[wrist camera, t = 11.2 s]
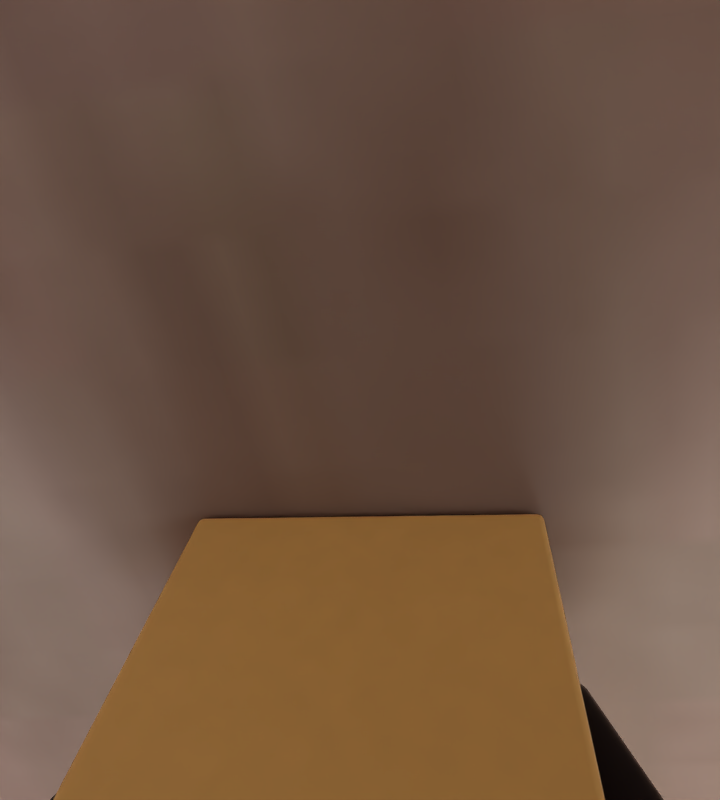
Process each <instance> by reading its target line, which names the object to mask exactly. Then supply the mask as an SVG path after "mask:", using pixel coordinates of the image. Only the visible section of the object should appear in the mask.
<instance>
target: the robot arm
mask: <svg viewBox="0 0 720 800" xmlns="http://www.w3.org/2000/svg"><path fill="white" fill-rule="evenodd" d="M580 687H581V691H582V696H583V701H584V705H585V710H586V714H587V719H588V724H589V728H590V733H591V737H592V742H593V747H594V751H595V756H596V760H597V765H598V770H599V774H600V779H601V783H602V788H603V793H604V797H605V800H663V798H662V797H661V795H660V794H659V793H658V791H657V790H656V788H655V787H654V785H653V784H652V782H651V781H650V780H649V778H648V777H647V775H646V774H645V772H644V771H643V769H642V768H641V767H640V765H639V764H638V762H637V761H636V759H635V758H634V756H633V755H632V754H631V752H630V751H629V749H628V748H627V746H626V745H625V743H624V742H623V741H622V739H621V738H620V736H619V735H618V733H617V732H616V730H615V729H614V728H613V726H612V725H611V723H610V722H609V720H608V719H607V717H606V716H605V715H604V713H603V712H602V710H601V709H600V707H599V706H598V704H597V703H596V702H595V700H594V699H593V697H592V696H591V694H590V693H589V692H588V690H587V689H586V688H585V687H584V686H583V685H581V684H580ZM55 795H56V794H55ZM55 795H54V796H53V797H52V798H51V799H50V800H53V799H54V797H55Z"/></svg>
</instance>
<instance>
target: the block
mask: <svg viewBox="0 0 720 800" xmlns="http://www.w3.org/2000/svg"><path fill="white" fill-rule="evenodd" d="M53 800H605V797H604V793H603V788H602V783H601V779H600V774H599V770H598V765H597V760H596V756H595V751H594V747H593V742H592V737H591V733H590V728H589V724H588V719H587V714H586V710H585V705H584V701H583V696H582V691H581V687H580V682H579V678H578V673H577V669H576V664H575V659H574V655H573V650H572V646H571V641H570V636H569V632H568V627H567V623H566V618H565V613H564V609H563V604H562V600H561V595H560V590H559V586H558V581H557V577H556V572H555V567H554V563H553V558H552V554H551V549H550V544H549V540H548V535H547V531H546V526H545V522H544V519H543V517H542V516H541V515H538V514H512V515H438V516H363V517H288V518H213V519H202V520H200V521H199V522H198V524H197V526H196V528H195V529H194V531H193V533H192V535H191V537H190V539H189V541H188V543H187V545H186V547H185V549H184V551H183V552H182V554H181V556H180V558H179V560H178V562H177V564H176V566H175V568H174V570H173V572H172V573H171V575H170V577H169V579H168V581H167V583H166V585H165V587H164V589H163V591H162V593H161V595H160V596H159V598H158V600H157V602H156V604H155V606H154V608H153V610H152V612H151V614H150V616H149V617H148V619H147V621H146V623H145V625H144V627H143V629H142V631H141V633H140V635H139V637H138V639H137V640H136V642H135V644H134V646H133V648H132V650H131V652H130V654H129V656H128V658H127V660H126V661H125V663H124V665H123V667H122V669H121V671H120V673H119V675H118V677H117V679H116V681H115V683H114V684H113V686H112V688H111V690H110V692H109V694H108V696H107V698H106V700H105V702H104V704H103V705H102V707H101V709H100V711H99V713H98V715H97V717H96V719H95V721H94V723H93V725H92V727H91V728H90V730H89V732H88V734H87V736H86V738H85V740H84V742H83V744H82V746H81V748H80V749H79V751H78V753H77V755H76V757H75V759H74V761H73V763H72V765H71V767H70V769H69V771H68V772H67V774H66V776H65V778H64V780H63V782H62V784H61V786H60V788H59V790H58V792H57V793H56V795H55V797H54V799H53Z"/></svg>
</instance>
